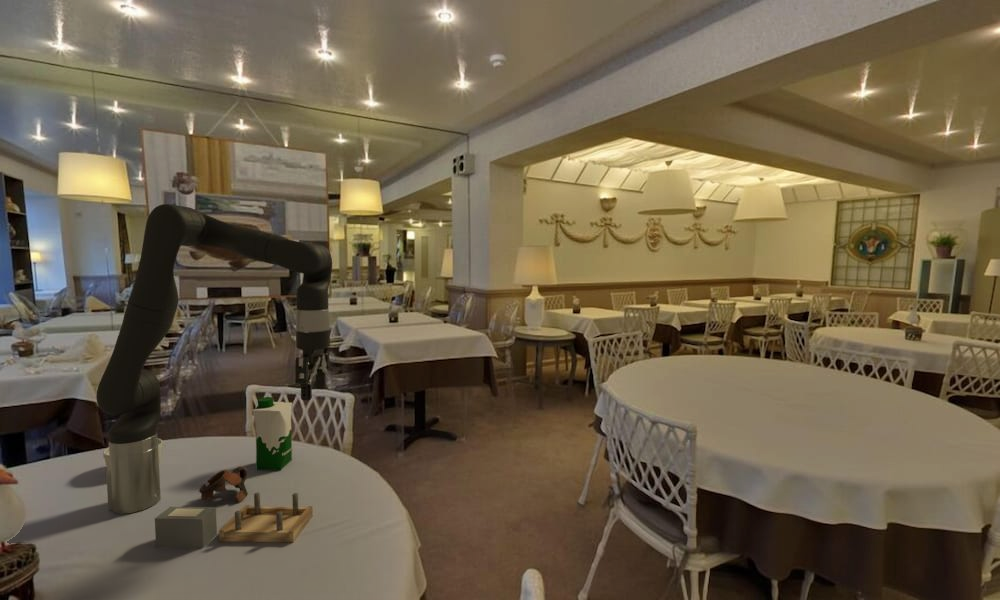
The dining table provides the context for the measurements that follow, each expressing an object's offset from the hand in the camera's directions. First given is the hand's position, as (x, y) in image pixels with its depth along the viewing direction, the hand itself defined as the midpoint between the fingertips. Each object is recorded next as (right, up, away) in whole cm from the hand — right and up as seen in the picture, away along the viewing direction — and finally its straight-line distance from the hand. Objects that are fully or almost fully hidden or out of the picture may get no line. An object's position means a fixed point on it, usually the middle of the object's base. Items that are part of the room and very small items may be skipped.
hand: (313, 394), depth 108 cm
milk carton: (-22, -26, +25) cm, 42 cm away
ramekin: (-60, -26, +20) cm, 68 cm away
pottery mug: (-25, -28, +7) cm, 38 cm away
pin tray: (-8, -29, -6) cm, 31 cm away
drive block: (-23, -30, -11) cm, 39 cm away
